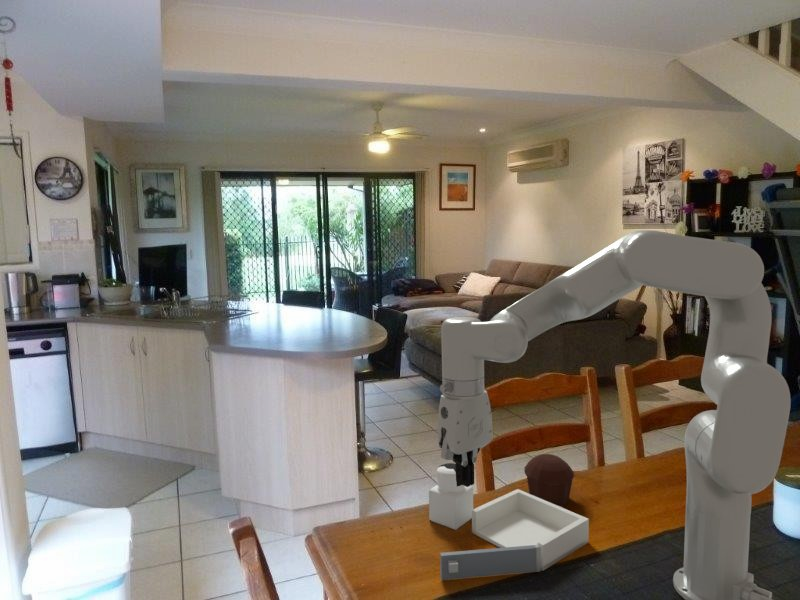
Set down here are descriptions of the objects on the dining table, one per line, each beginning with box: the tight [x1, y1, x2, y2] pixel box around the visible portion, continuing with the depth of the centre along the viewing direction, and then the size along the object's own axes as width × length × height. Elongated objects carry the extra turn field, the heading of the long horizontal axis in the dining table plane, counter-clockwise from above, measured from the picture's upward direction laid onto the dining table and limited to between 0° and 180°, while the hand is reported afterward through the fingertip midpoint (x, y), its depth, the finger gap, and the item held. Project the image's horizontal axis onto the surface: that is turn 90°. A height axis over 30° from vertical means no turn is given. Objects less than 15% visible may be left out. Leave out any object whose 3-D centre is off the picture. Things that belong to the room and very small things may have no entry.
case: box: [471, 488, 590, 572], centre depth 116 cm, size 18×15×5 cm
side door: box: [439, 545, 542, 581], centre depth 102 cm, size 19×2×5 cm, turn 96°
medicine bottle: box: [428, 462, 474, 531], centre depth 124 cm, size 7×7×12 cm
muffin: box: [523, 453, 575, 507], centre depth 133 cm, size 12×11×10 cm
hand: (465, 483), depth 104 cm, fingers closed
